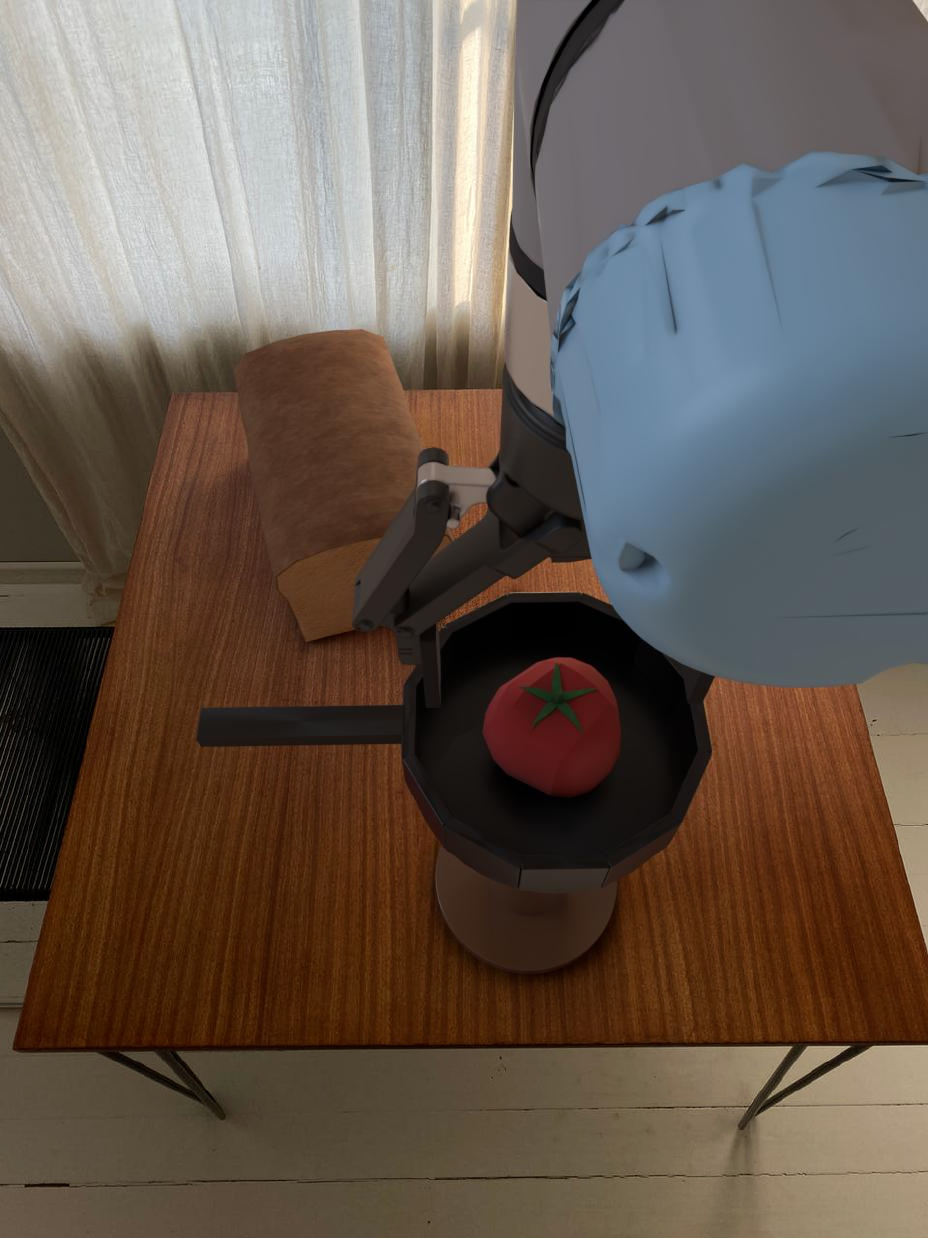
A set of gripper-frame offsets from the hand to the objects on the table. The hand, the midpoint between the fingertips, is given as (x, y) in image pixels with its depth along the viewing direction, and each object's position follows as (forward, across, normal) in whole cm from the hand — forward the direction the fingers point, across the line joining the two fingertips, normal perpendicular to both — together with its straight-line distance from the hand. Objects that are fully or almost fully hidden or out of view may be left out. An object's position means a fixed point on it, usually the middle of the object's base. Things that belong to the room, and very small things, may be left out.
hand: (562, 683), depth 46 cm
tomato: (+9, 0, 0) cm, 9 cm away
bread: (+38, +18, -42) cm, 59 cm away
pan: (+38, +6, -1) cm, 38 cm away
